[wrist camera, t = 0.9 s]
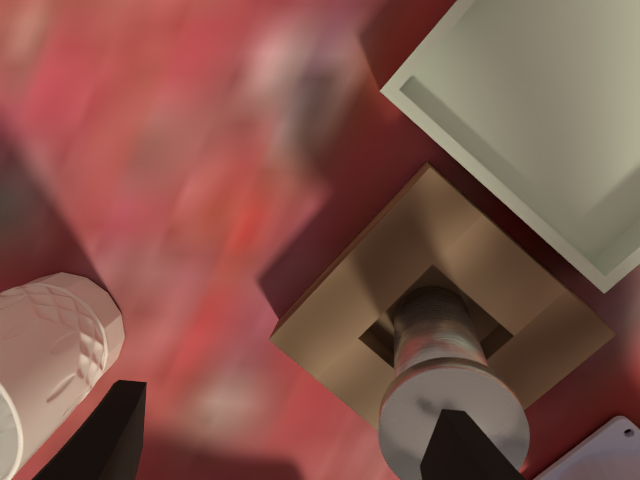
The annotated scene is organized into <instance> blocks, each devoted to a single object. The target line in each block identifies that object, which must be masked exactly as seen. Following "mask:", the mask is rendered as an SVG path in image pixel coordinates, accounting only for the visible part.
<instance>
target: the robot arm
mask: <svg viewBox="0 0 640 480" xmlns="http://www.w3.org/2000/svg"><path fill="white" fill-rule="evenodd" d="M146 384H147V382H137V381H126V380H118V381H117V382H115V383H114V384H113V385H112V387H111V388H110V390H109V391H108V393H107V394H106V395H105V397H104V398H103V399H102V401H101V402H100V403H99V405H98V406H97V407H96V408H95V410H94V411H93V412H92V413H91V415H90V416H89V417H88V418H87V420H86V421H85V422H84V423H83V424H82V426H81V427H80V428H79V429H78V430H77V431H76V432H75V434H74V435H73V436H72V437H71V438H70V439H69V440H68V442H67V443H66V444H65V445H64V446H63V447H62V448H61V450H60V451H59V452H58V453H57V454H56V455H55V456H54V457H53V458H52V459H51V460H50V461H49V462H48V463H47V464H46V465H45V466H44V467H43V468H42V469H41V470H40V471H39V473H38V474H37V475H36V476H35V477H34V478H33V479H32V480H135V477H136V473H137V468H138V464H139V460H140V456H141V451H142V447H143V432H144V416H145V400H146ZM627 429H631V431H630V432H628V433H624V431H625V430H627ZM420 471H421V477H422V480H525V478H524V477H523V476H522V475H521V474H520V473H519V472H518V471H517V470H516V469H515V467H514V466H513V465H512V464H511V463H510V462H509V461H508V460H507V458H506V457H505V456H504V455H503V454H502V453H501V452H500V450H499V449H498V448H497V447H496V446H495V445H494V443H493V442H492V441H491V440H490V439H489V438H488V437H487V435H486V434H485V433H484V432H483V431H482V430H481V428H480V427H479V426H478V425H477V424H476V423H475V422H474V420H473V419H472V418H471V417H470V416H469V415H468V414H467V413H466V412H465V411H461V410H450V409H442V410H441V412H440V415H439V418H438V420H437V423H436V425H435V428H434V431H433V433H432V436H431V438H430V441H429V444H428V446H427V449H426V451H425V454H424V456H423V459H422V462H421V464H420ZM533 480H640V429H639V428H638V427H637V426H636V425H635V424H633V423H632V422H631V421H630V420H629V419H628V418H626V417H625V416H616V417H614V418H612V419H611V420H610V421H608V422H607V423H606V424H605V425H603V426H602V427H601V428H599V429H598V430H597V431H595V432H594V433H593V434H592V435H590V436H589V437H588V438H586V439H585V440H584V441H582V442H581V443H580V444H578V445H577V446H576V447H575V448H573V449H572V450H571V451H569V452H568V453H567V454H565V455H564V456H563V457H562V458H560V459H559V460H558V461H556V462H555V463H554V464H552V465H551V466H550V467H548V468H547V469H546V470H545V471H543V472H542V473H541V474H539V475H538V476H537V477H535V478H534V479H533Z"/></svg>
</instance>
